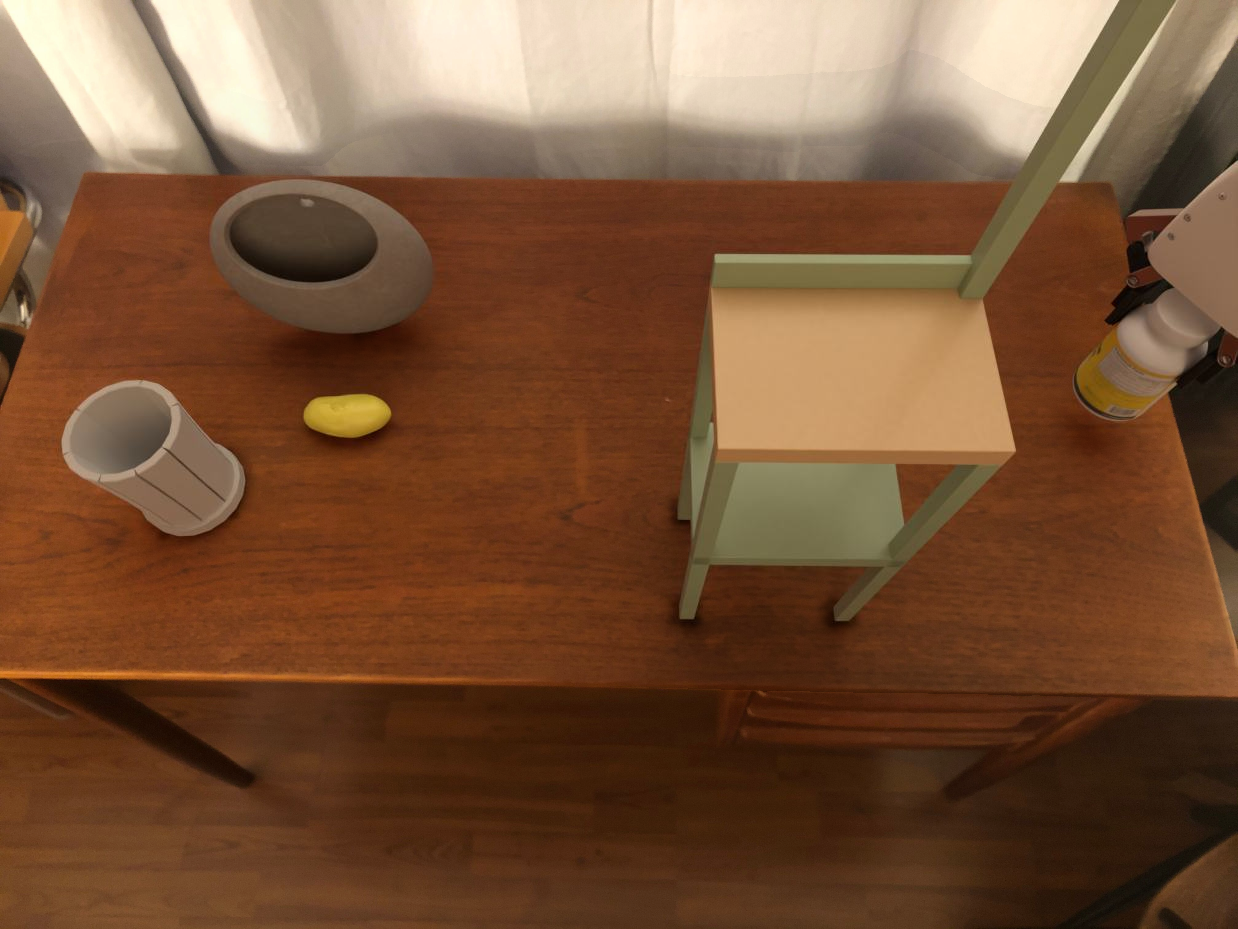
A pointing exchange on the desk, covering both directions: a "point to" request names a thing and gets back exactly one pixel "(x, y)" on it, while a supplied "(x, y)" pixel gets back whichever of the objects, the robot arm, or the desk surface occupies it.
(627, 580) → the desk surface
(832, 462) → the mint side table
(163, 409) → the cup
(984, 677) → the desk surface
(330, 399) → the yellow potato
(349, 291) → the planter
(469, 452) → the desk surface
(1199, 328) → the pill bottle
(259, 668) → the desk surface
